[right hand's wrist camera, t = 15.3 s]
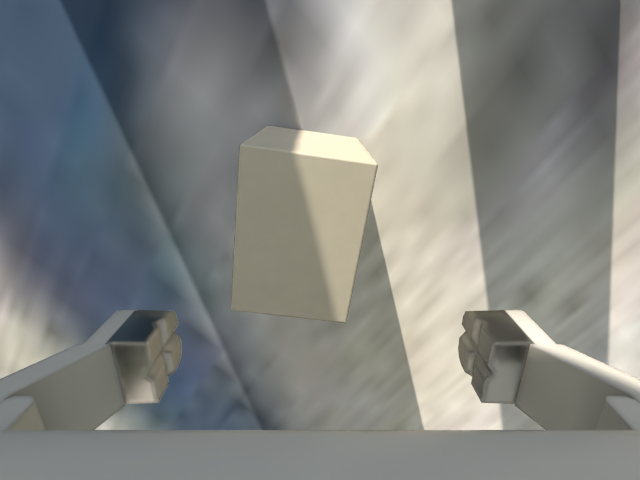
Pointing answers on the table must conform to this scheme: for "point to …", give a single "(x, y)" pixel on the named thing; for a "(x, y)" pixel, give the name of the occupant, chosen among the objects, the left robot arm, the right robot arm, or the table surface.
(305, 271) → the brick
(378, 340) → the table surface
